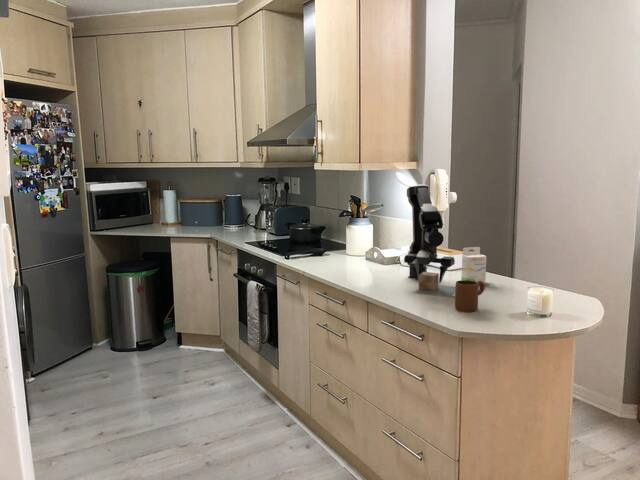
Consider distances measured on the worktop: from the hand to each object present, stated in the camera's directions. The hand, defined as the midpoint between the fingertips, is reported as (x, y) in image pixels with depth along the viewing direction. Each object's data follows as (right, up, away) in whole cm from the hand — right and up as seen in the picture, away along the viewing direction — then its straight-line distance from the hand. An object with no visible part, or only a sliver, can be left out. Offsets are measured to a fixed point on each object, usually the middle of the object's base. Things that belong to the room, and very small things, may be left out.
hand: (428, 281), depth 206 cm
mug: (+9, -7, -25) cm, 28 cm away
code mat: (+7, -4, -3) cm, 8 cm away
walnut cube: (0, -3, 0) cm, 3 cm away
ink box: (+20, -2, +9) cm, 22 cm away
